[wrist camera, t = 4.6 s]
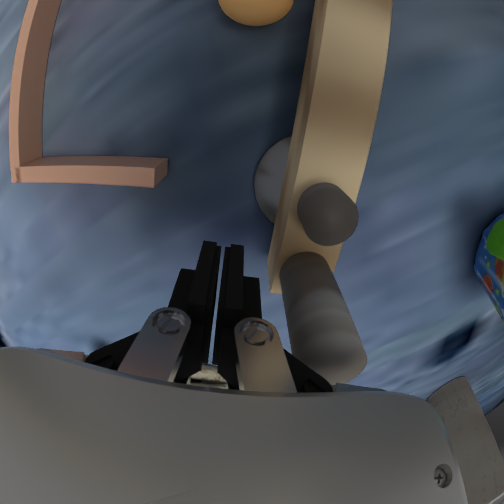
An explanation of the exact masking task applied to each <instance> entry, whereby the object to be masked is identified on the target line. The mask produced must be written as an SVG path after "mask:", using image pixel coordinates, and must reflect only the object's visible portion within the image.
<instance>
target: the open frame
mask: <svg viewBox="0 0 504 504" xmlns="http://www.w3.org/2000/svg"><path fill="white" fill-rule="evenodd" d="M60 3H61V0H29V2H28V5H27V8H26V12H25V15H24V19H23V22H22V26H21V30H20V35H19V39H18V44H17V49H16V54H15V60H14V67H13V74H12V82H11V93H10V108H9V152H10V168H11V178H12V182H52V183H86V184H107V185H124V186H138V187H151V188H154V187H155V186H156V185H157V184H158V183H159V182H160V181H161V180H162V179H164V178H165V177H166V176H167V168H168V158H154V157H133V156H53V157H42V109H43V94H44V84H45V75H46V67H47V61H48V54H49V49H50V44H51V39H52V34H53V29H54V25H55V21H56V17H57V14H58V10H59V6H60Z"/></svg>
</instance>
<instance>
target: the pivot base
mask: <svg viewBox="0 0 504 504" xmlns="http://www.w3.org/2000/svg"><path fill="white" fill-rule="evenodd" d="M291 138H292V135H291V136H288V137H286V138H283V139H281V140H280V141H278V142H276V143H275V144H274V145H272V146H271V147H270V148H269V149H268V150H267V151H266V153H265V154H264V155H263V157H262V158H261V160H260V162H259V164H258V166H257V169H256V173H255V179H254V190H255V196H256V199H257V202H258V205H259V207H260V209H261V210H262V212H263V213H264V215H265V216H266V217H267V218H268V219H269V220H270V221H271V222H272V223H273V224H275V221H276V216H277V211H278V206H279V201H280V195H281V190H282V185H283V180H284V175H285V170H286V165H287V159H288V154H289V149H290V144H291Z"/></svg>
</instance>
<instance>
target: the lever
mask: <svg viewBox="0 0 504 504" xmlns="http://www.w3.org/2000/svg"><path fill="white" fill-rule="evenodd" d="M391 14H392V0H315V5H314V11H313V17H312V24H311V30H310V36H309V42H308V48H307V54H306V60H305V66H304V72H303V77H302V83H301V89H300V94H299V100H298V105H297V111H296V116H295V122H294V127H293V133H292V138H291V144H290V149H289V154H288V159H287V165H286V170H285V175H284V180H283V185H282V190H281V195H280V201H279V206H278V211H277V216H276V221H275V225H274V230H273V235H272V240H271V245H270V250H269V255H268V260H267V267H268V275H269V284H270V292H271V293H278V294H282V296H283V302H284V308H285V314H286V320H287V326H288V332H289V338H290V344H291V351H292V355H293V356H294V357H296V358H297V359H298V360H300V361H301V362H302V363H304V364H305V365H307V366H308V367H309V368H311V369H312V370H314V371H315V372H316V373H318V374H319V375H321V376H322V377H323V378H325V379H326V380H327V381H328V382H329V383H330V384H331V385H335V384H336V383H342V384H345V383H347V382H349V381H351V380H352V379H354V378H355V377H357V376H358V375H359V374H360V373H361V372H362V371H363V369H364V368H365V366H366V364H367V355H366V352H365V350H364V347H363V345H362V342H361V340H360V337H359V335H358V332H357V330H356V327H355V325H354V322H353V320H352V317H351V315H350V313H349V310H348V308H347V305H346V303H345V301H344V298H343V296H342V294H341V292H340V289H339V287H338V285H337V282H336V280H335V278H334V276H333V271H334V269H335V266H336V263H337V260H338V257H339V254H340V251H341V248H342V245H343V242H344V241H345V240H347V239H348V238H349V237H350V236H351V235H352V234H353V232H354V230H355V229H356V226H357V223H358V210H357V207H356V205H355V203H356V199H357V195H358V192H359V188H360V185H361V181H362V177H363V173H364V169H365V165H366V161H367V157H368V153H369V149H370V145H371V140H372V136H373V131H374V127H375V122H376V117H377V112H378V107H379V102H380V97H381V91H382V85H383V79H384V73H385V66H386V59H387V52H388V44H389V35H390V25H391Z"/></svg>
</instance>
